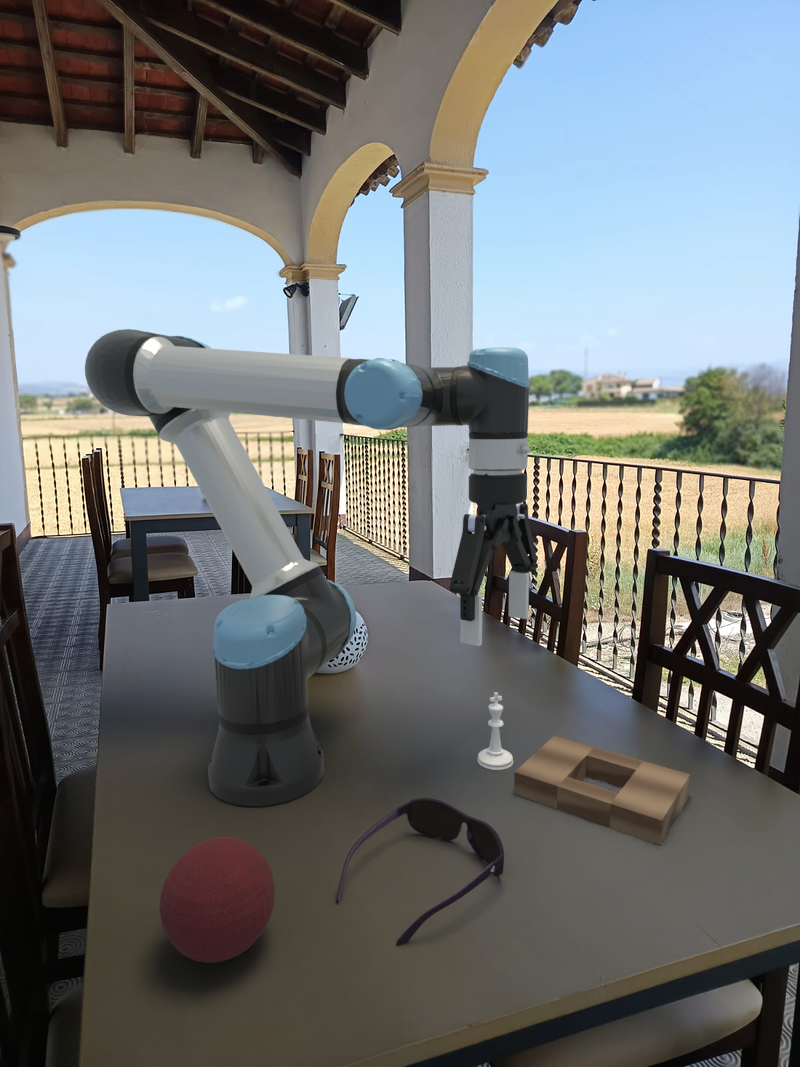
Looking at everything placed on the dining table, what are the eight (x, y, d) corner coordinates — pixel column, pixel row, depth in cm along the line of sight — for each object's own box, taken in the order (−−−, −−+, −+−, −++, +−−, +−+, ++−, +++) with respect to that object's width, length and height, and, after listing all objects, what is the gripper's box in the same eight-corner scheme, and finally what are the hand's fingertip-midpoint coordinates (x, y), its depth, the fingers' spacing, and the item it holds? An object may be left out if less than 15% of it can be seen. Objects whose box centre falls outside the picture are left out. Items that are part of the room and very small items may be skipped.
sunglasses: (519, 876, 72) (519, 832, 71) (422, 967, 60) (422, 916, 59) (419, 826, 81) (419, 787, 80) (319, 897, 69) (317, 852, 68)
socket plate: (660, 845, 76) (661, 820, 75) (514, 793, 86) (514, 772, 86) (688, 796, 85) (690, 774, 85) (553, 755, 96) (554, 735, 95)
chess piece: (471, 756, 96) (471, 689, 94) (502, 749, 98) (503, 683, 96) (487, 773, 92) (488, 702, 90) (519, 766, 93) (521, 696, 91)
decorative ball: (152, 934, 64) (144, 836, 62) (255, 893, 69) (250, 803, 67) (180, 1011, 55) (171, 901, 54) (294, 959, 61) (289, 857, 59)
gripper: (476, 481, 76) (475, 662, 80) (562, 466, 96) (558, 611, 100) (420, 478, 80) (421, 650, 84) (514, 464, 100) (512, 604, 104)
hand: (496, 629), depth 92 cm, fingers open, 13 cm apart
